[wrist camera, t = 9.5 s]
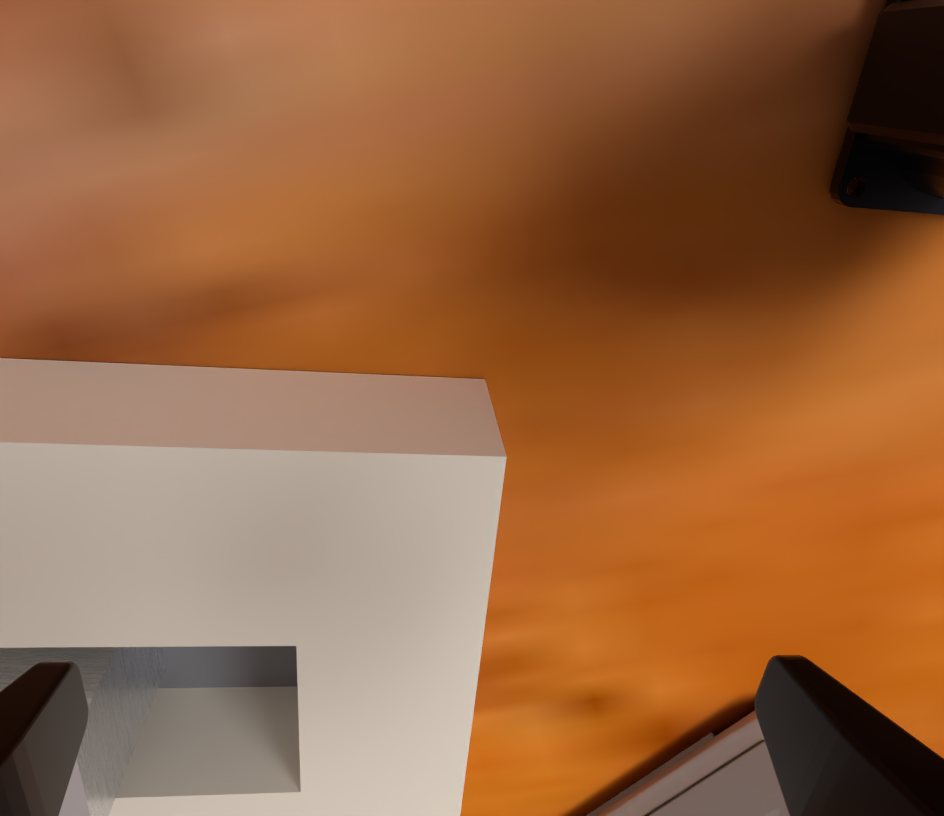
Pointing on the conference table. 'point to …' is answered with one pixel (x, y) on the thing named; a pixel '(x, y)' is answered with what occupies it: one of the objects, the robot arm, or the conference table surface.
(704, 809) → the digital clock
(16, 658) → the light grey rectangular block
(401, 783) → the slot board
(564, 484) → the conference table surface
